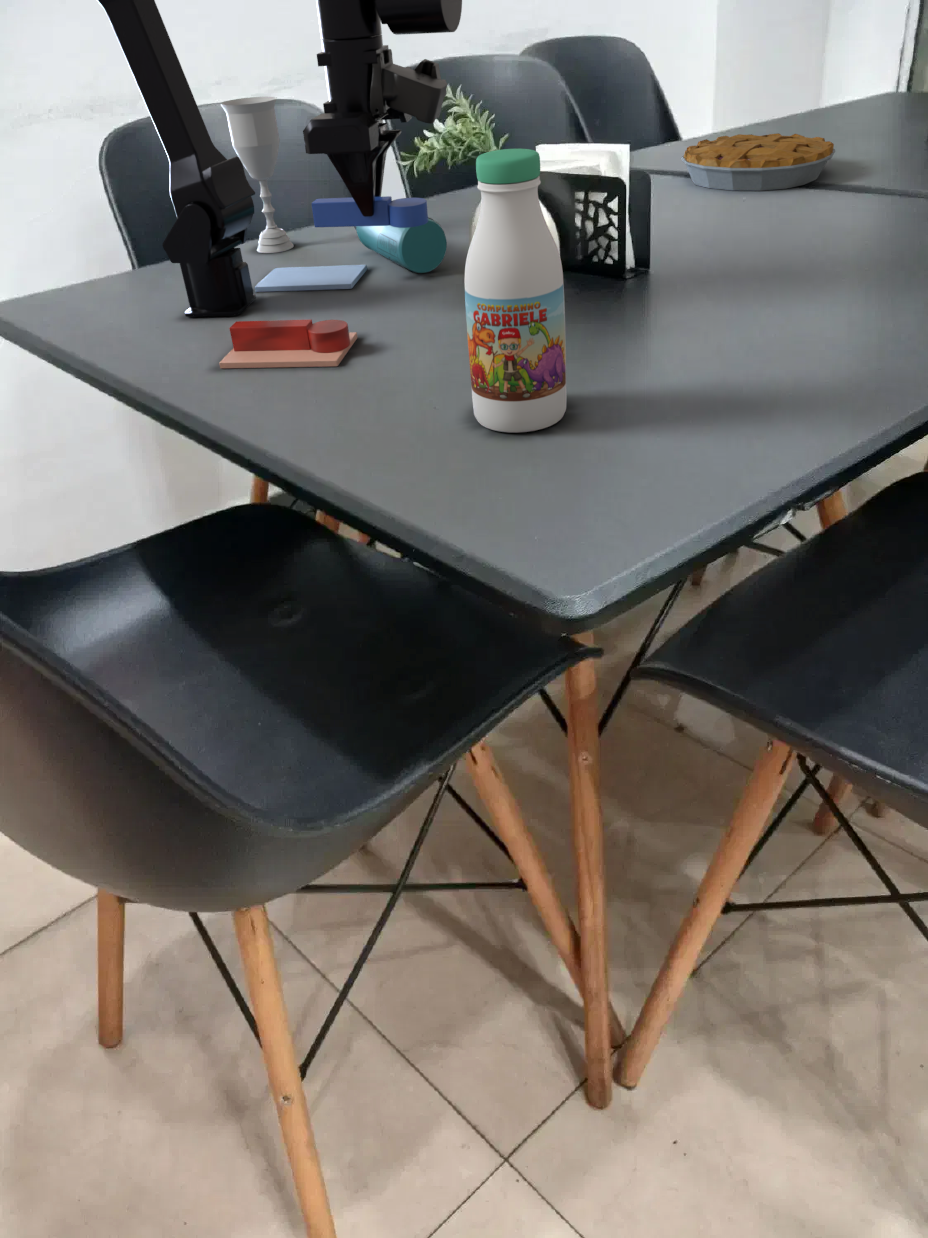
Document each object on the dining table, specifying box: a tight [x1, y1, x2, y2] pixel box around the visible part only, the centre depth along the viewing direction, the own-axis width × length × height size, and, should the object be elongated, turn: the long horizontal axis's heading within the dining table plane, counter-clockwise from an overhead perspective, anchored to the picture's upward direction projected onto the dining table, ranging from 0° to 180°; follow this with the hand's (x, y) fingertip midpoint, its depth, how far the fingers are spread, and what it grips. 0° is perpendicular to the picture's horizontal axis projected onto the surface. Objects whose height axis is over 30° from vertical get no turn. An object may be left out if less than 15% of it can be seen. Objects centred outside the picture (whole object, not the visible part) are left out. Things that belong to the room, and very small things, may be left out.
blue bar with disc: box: [311, 195, 429, 228], centre depth 100 cm, size 12×4×2 cm, turn 80°
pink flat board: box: [218, 331, 359, 369], centre depth 98 cm, size 12×8×1 cm, turn 81°
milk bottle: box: [464, 148, 568, 433], centre depth 75 cm, size 8×8×20 cm
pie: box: [680, 132, 836, 192], centre depth 144 cm, size 22×22×5 cm
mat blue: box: [254, 264, 368, 293], centre depth 118 cm, size 12×8×1 cm, turn 81°
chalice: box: [219, 96, 294, 254], centre depth 128 cm, size 7×7×18 cm
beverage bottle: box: [353, 216, 448, 275], centre depth 121 cm, size 6×7×20 cm
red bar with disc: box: [228, 318, 350, 353], centre depth 97 cm, size 12×4×2 cm, turn 81°
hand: (371, 213), depth 100 cm, fingers closed on blue bar with disc, 2 cm apart
